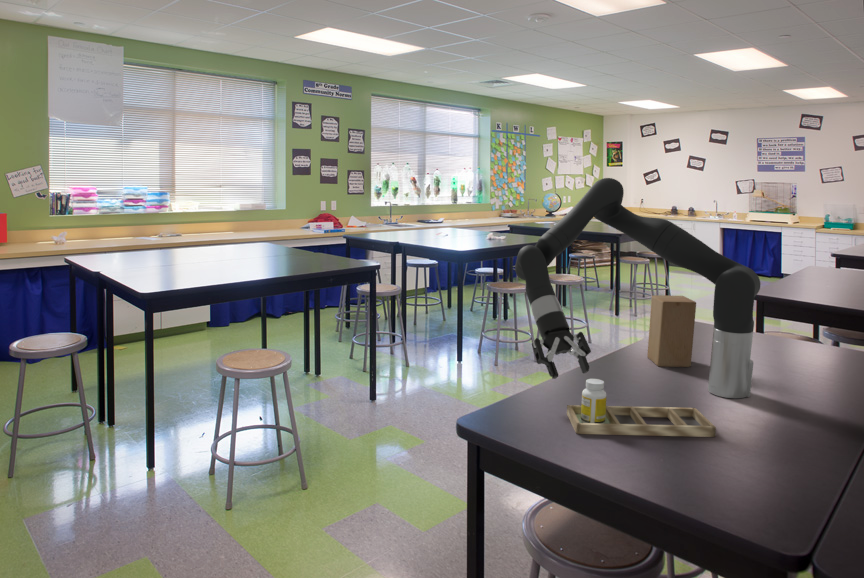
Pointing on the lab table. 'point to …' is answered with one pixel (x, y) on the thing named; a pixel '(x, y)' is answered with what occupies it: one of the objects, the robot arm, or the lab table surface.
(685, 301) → the wooden block
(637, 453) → the lab table surface
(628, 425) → the wooden compartment tray
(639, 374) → the lab table surface
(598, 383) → the supplement bottle
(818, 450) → the lab table surface
